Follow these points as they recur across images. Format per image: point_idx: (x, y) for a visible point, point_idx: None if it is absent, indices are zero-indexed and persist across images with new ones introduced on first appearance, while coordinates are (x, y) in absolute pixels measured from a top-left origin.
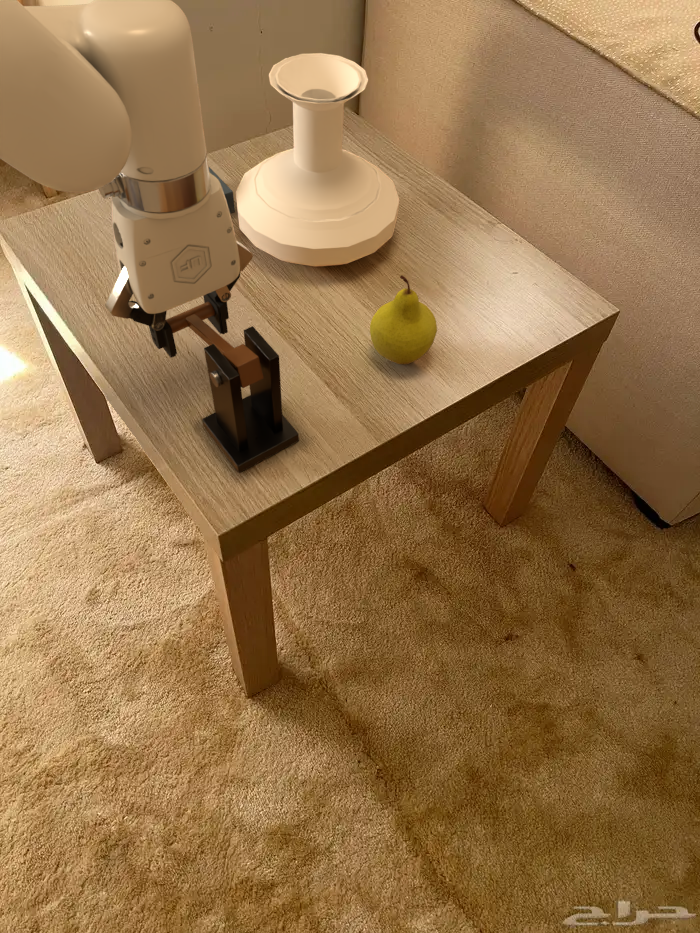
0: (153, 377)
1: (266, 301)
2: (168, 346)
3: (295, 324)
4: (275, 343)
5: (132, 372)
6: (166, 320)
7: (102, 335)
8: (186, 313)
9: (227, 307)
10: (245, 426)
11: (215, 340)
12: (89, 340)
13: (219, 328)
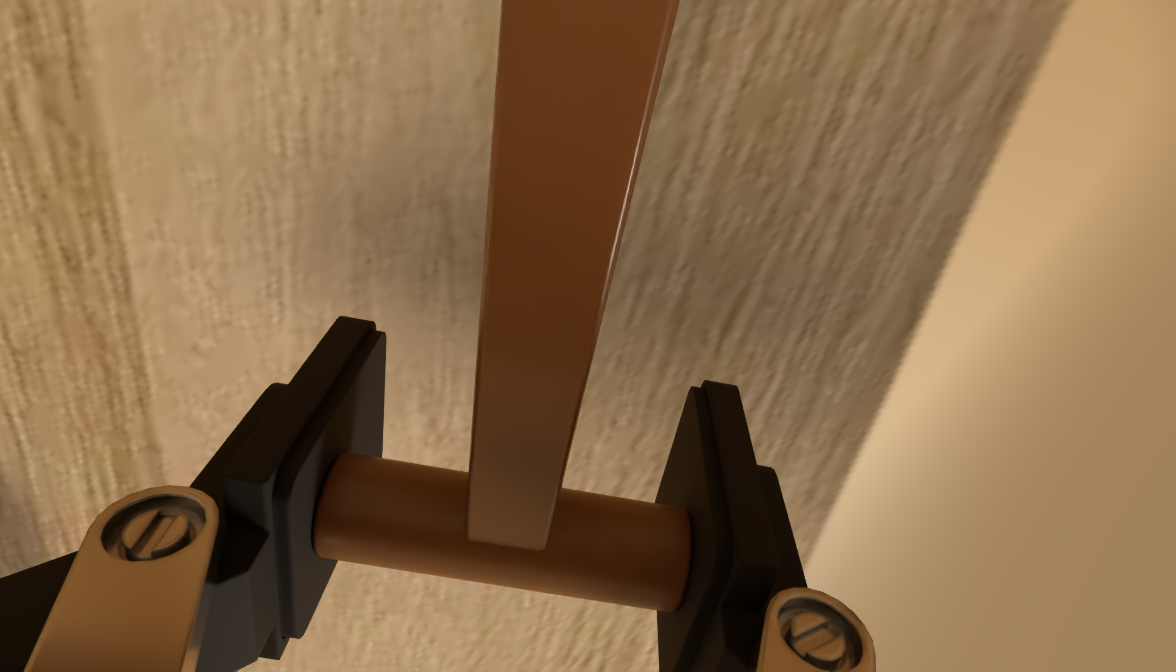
0: (728, 382)
1: (82, 381)
2: (747, 448)
3: (6, 191)
4: (158, 166)
5: (765, 450)
6: (663, 606)
7: None
8: (515, 573)
9: (224, 443)
10: None
11: (588, 169)
12: None
13: (371, 361)
